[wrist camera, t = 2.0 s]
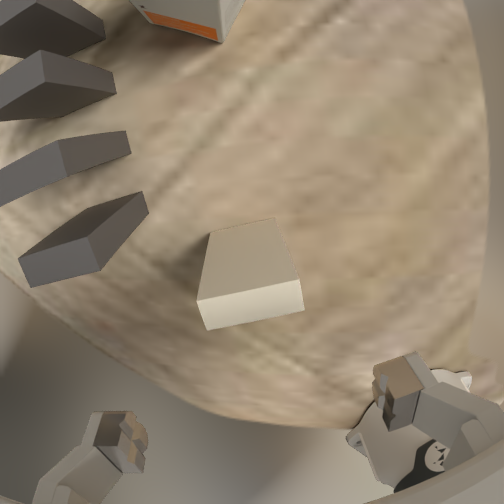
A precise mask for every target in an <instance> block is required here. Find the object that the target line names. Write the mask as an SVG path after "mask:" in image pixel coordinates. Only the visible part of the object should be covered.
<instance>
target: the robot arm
mask: <svg viewBox="0 0 504 504" xmlns="http://www.w3.org/2000/svg"><path fill="white" fill-rule="evenodd" d="M373 375H374V377H375V380H374V381H373V382H372V391H373V397H374V400H375V402H374V403H373V404H372V405H371V406H370V408H369V409H368V410H367V412H366V413H365V415H364V416H363V418H362V420H361V422H360V423H359V424H358V426H356V427H355V428H354V429H353V430H352V431H351V432H350V433H349V434H348V435H347V436H346V440H347V442H348V444H349V445H350V446H352V447H353V448H355V449H356V450H357V451H359V452H360V453H362V454H363V455H365V456H366V457H367V458H368V460H369V463H370V465H371V468H372V470H373V473H374V476H375V478H376V480H377V481H381V482H382V483H383V484H387V485H390V486H391V487H393V488H394V494H391V495H388V496H386V497H383V498H380V499H377V500H374V501H371V502H368V503H364V504H504V412H503V411H502V409H501V408H500V406H499V405H498V404H497V403H494V402H492V401H489V400H487V399H484V398H482V397H479V396H477V395H474V394H472V393H470V392H469V388H470V385H471V381H472V376H471V375H470V373H469V372H468V371H465V372H459V373H453V372H450V371H448V370H444V369H436V370H430V369H429V368H428V366H427V365H426V363H425V362H424V360H423V359H422V358H421V356H420V355H419V353H418V352H416V351H415V352H412V353H409V354H406V355H404V356H402V357H401V356H400V357H397V358H395V359H392V360H389V361H386V362H383V363H380V364H377V365H374V368H373ZM147 446H148V437H147V432H146V430H145V428H144V427H143V425H142V424H140V423H138V422H137V421H136V416H135V414H134V413H133V412H132V411H104V412H102V411H96V412H93V413H92V414H91V416H90V419H89V422H88V425H87V428H86V431H85V434H84V436H83V440H82V443H81V445H80V446H76V447H75V448H74V449H73V450H72V451H71V452H70V453H69V454H68V455H66V456H65V457H64V458H63V459H62V460H61V461H60V462H59V463H58V464H57V465H56V466H55V467H53V468H52V469H51V470H50V471H49V472H48V473H47V474H46V475H44V476H43V477H42V478H41V479H40V480H39V483H38V486H37V489H36V492H35V496H34V499H33V502H32V504H100V503H101V502H102V501H103V499H104V498H105V497H106V496H107V494H108V493H109V492H110V490H111V489H112V488H113V486H114V485H115V484H116V482H117V481H118V480H119V479H120V477H121V476H122V475H123V474H122V473H143V470H144V464H145V457H144V455H143V454H142V453H143V452H144V451H145V450H146V449H147ZM0 504H23V503H20V502H17V501H14V500H11V499H8V498H6V497H3V496H0Z"/></svg>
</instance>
